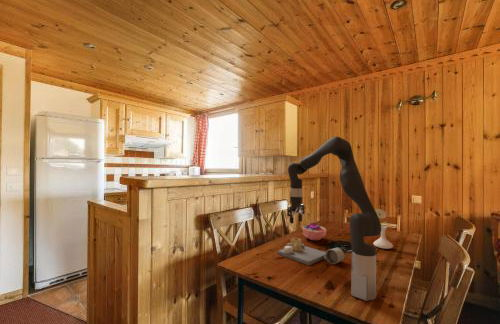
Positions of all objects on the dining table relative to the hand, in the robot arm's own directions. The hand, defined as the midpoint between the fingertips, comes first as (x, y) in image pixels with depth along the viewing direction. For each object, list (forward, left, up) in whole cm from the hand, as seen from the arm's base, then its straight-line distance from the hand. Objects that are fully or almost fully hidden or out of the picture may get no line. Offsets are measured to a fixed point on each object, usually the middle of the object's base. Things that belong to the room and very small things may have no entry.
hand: (296, 222), depth 148 cm
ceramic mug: (+5, -22, -19) cm, 29 cm away
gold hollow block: (0, 0, -17) cm, 17 cm away
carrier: (0, -5, -19) cm, 19 cm away
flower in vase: (+53, -30, -19) cm, 64 cm away
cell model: (+33, +9, -19) cm, 39 cm away
